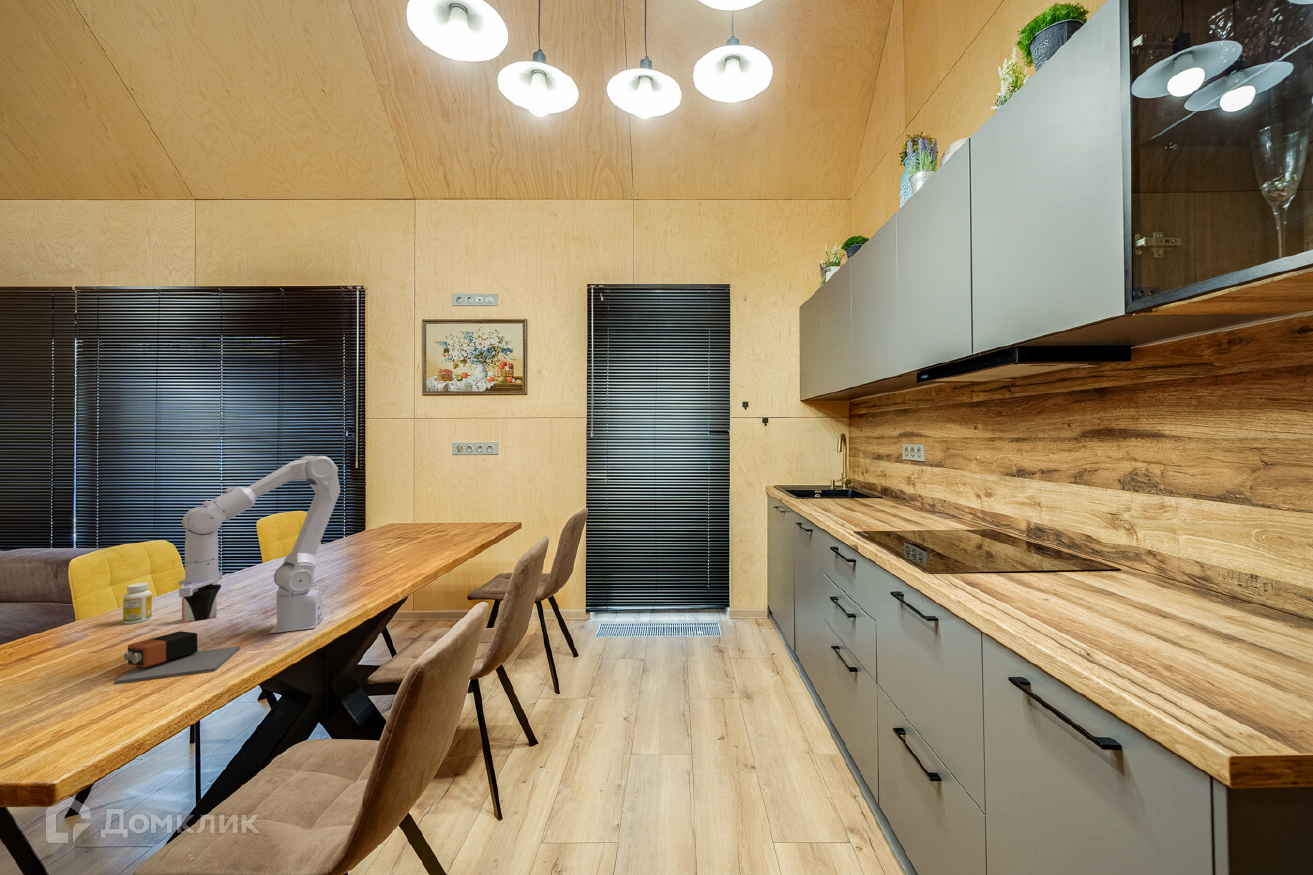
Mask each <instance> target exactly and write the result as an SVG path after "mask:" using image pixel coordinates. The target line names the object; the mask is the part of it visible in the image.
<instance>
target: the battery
mask: <svg viewBox="0 0 1313 875" xmlns="http://www.w3.org/2000/svg"><path fill="white" fill-rule="evenodd" d="M197 651H198V633H197V632H191V631H190V632H189V631H182V630H180V631H175V632H171V633H168V634H164V635H160V636H156V637H151V638H149V639H143V640H141V641H136V642H133V643H130V644H128V645H127V652H126V653H124V654H123V655H124V656H123V658H124V661H125V662H126V661H127V665H128V666H133V667H136V666H138V667H144V668H146V667H150V666H153V665H156V664H160V663H163V662H166V661H170V660H173V659H176V658H180V657H183V656H186V655H190V654H193V653H196V652H197Z"/></svg>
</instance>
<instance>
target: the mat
mask: <svg viewBox="0 0 1313 875" xmlns="http://www.w3.org/2000/svg"><path fill="white" fill-rule="evenodd" d="M240 650H241V645H237V646H228V647H222V648H221V647H220V648H213V649H204V650H203V649H202V650H197V652H196V653H193V654H190V655H186V656H183V657H180V658H176V659H173V660H170V661H166V662H163V663H160V664H156V665H153V666H150V667H146V668H144V667H138V666H134V667H133V668H132V669H131V670H129V671H127V672H126V673H125V674H123V675H121V676H120V677H117V679H115V680H114V682H113V683H114V685H118V684H119V685H120V684H126V683H127V684H128V683H133V682H141V681H150V680H157V679H164V678H165V679H166V678H172V677H179V676H181V677H182V676H187V675H194V674H202V673H211V672H216V670H218V669H219V668H220V667H221V666H222V665H224V664H225V663H226V662H227V661H228V660H229V659H230V658H232V657H233V656H234V655H235V654H236V653H238V651H240Z"/></svg>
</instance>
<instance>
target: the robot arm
mask: <svg viewBox="0 0 1313 875" xmlns="http://www.w3.org/2000/svg"><path fill="white" fill-rule="evenodd" d="M338 471H339V467H338V466H337V465H336V464H335V462H334V461H333V460H332V459H331V458H330V457H328V456H326V455H325V456H324V455H318V456H316V455H305V456H302V457H299V459H296V460H293V461H291V462H288V463H287V464H285V465H283V466H281V467H279V468H278V469H276V470H275V471H273V472H271V473H269V474H268V475H266V476H265V477H263V478H261V479H259V480H258V481H256V482H254V483H253V484H251V485H249V486H247V487H243V486H236V487H234V488H233V487H228V488H226V489H224V491H225V493H222V494H221V495H219V496H217V497H215V498H214V499H212V500H210V501H209V500H205V501H203V502H202V505H203V506H200V507H199V506H198V507H194V508H191V509H189V510H188V511H187V512H185V514H184V515H183V518H182V520H181V524H182V526H183V528H184V529H185V542H184V579H182V580H180V581H178V583H177V584H178V586H180V585H181V587H179V588H178V597H179V598H182V597H184V598H185V599H186V601H187V602H188V604H189V606H190V608H191V610H192V613H193V616H194V619H195V622H198V621H199V620H201V621H206V619H207V620H209V619H208V618H209V616H210V613H211V609H212V606H213V602H214V600H215V597H216V595H217V596H218V593H219V592H220V590H221V588H222V585H221V584H218V582H220V581H221V580H223V571H222V570H221V571H220V570H219V566H220V565H219V536H218V533H219V532H218V529H220V527H221V526H222V523H223V522H227V521H229V520H231V519H233V518H235V517H236V516H238V515H239V514H242V513H244V512H245V511H247V510H249V509H250V508H253V507H254V506H255V503H256V500H257V499H258V498H259V497H261V496H263V495H265V494H267V493H269V492H271V491H272V490H275V489H277V488H279V487H281V486H282V485H284V484H286V483H288V482H290V481H302V480H303V481H305V482H307V483H308V484H309V486H310V487H311V488H312V490H313V491H314V493H315V494H314V496H313V499H312V501H311V504H310V507H309V508H308V511H307V513H306V516H305V518H304V521H303V523H302V525H301V529H300V531H299V533H298V536H297V538H296V541H295V543H294V545H293V547H292V549H291V552H290V553H289V554H287V556H286V557H284V560H283V562H282V564H281V565H279V567H278V568H277V569H276V570H275V572H274V574H273V581H274V583H275V585H276V586H278V589H277V591H276V625H275V626H274V627H273V628H272V629H271V630H270V631H269V633H270V634H275V633H276V634H277V633H285V632H294V631H301V630H310V629H311V630H313V629H315V628H316V627H317V626H318V625H319V624H320V622H321V621H322V620H323V619H324V617H323V591H322V590H321V589H312V586H313V584H314V583H315V572H314V571H315V568H316V565H317V564H316V558H315V557H316V553H317V552H318V549H319V546H320V543H321V541H322V539H323V536H324V534H325V531H326V529H327V526H328V524H329V522H330V518H331V517H332V514H333V512H334V509H335V505H336V503H337V501H338V498H339V496H340V493H341V486H340V482H339V481H340V480H339V476H338ZM215 582H217V585H212V583H215ZM199 622H200V621H199Z"/></svg>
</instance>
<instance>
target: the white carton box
mask: <svg viewBox="0 0 1313 875" xmlns="http://www.w3.org/2000/svg"><path fill="white" fill-rule="evenodd" d="M217 584H218V582H215V583H212V585H217ZM217 617H218V594H217V595H216V597H215V600H214V602H213V606H212V609H211V613H210V616H209V618H208V619H206V620H210V619H217ZM206 620H205V621H206ZM200 621H202V620H199V622H200ZM193 622H196V621H195V619H194V616H193V613H192V610H191V608H190V606H189V604H188V602H187V601H186V599H185V598H184V597H181V624H189V623H193Z"/></svg>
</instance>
